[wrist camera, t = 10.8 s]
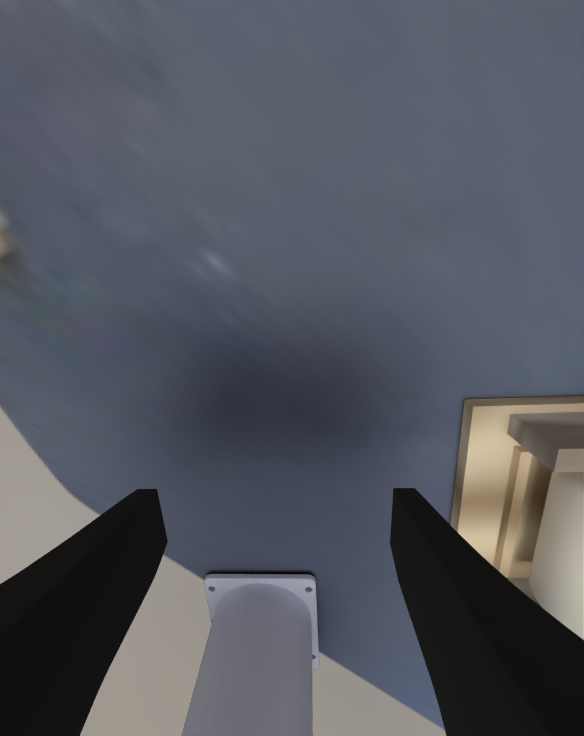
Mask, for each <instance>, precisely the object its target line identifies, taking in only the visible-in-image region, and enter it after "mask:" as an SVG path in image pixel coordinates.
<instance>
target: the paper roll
mask: <svg viewBox="0 0 584 736" xmlns="http://www.w3.org/2000/svg"><path fill="white" fill-rule="evenodd" d="M529 585H530V588H531V591H532V593H533V595H534V597H535V598H536V600H537V602H538V603H539V604H540V605H541V607H542V608H543V609H544V610H546V611H547V612H548V613H549V614H551V615H552V616H553V617H555V618H556V619H557V620H558V621H560V622H561V623H562V624H563V625H565V626H566V627H567V628H569V629H570V630H571V631H573V632H574V633H575V634H577V635H578V636H579V637H581V638H582V639H583V640H584V472H557V473H554V472H552V474H551V479H550V483H549V488H548V492H547V497H546V501H545V506H544V511H543V515H542V520H541V524H540V529H539V533H538V538H537V542H536V547H535V551H534V556H533V560H532V565H531V569H530V574H529Z"/></svg>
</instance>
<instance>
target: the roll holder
mask: <svg viewBox="0 0 584 736" xmlns="http://www.w3.org/2000/svg"><path fill="white" fill-rule="evenodd" d="M552 472H554V473H557V472H584V396H556V397H524V398H492V399H465V401H464V409H463V418H462V427H461V435H460V444H459V453H458V461H457V470H456V479H455V488H454V496H453V505H452V514H451V522H450V525H451V526H452V527H453V528H454V529H455V530H456V531H457V532H458V533H459V534H460V535H461V536H462V537H463V538H464V539H465V540H466V541H467V542H468V543H469V544H470V545H471V546H472V547H473V548H474V549H475V550H476V551H477V552H478V553H479V554H480V555H482V556H483V557H484V558H485V559H486V560H487V561H488V562H489V563H490V564H491V565H492V566H494V567H495V568H496V569H497V570H498V571H499V572H500V573H501V574H503V575H504V576H505V577H506V578H507V579H508V580H509V581H510V582H512V583H513V584H514V585H515V586H516V587H517V588H519V589H520V590H521V591H522V592H523V593H525V594H526V595H527V596H528V597H529V598H531V599H532V600H533V601H534V602H536V603H537V604H538V605H539V606H541V605H540V604H539V603H538V602H537V600H536V598H535V597H534V595H533V593H532V591H531V588H530V585H529V574H530V569H531V565H532V560H533V556H534V551H535V547H536V542H537V538H538V533H539V529H540V524H541V520H542V515H543V511H544V506H545V501H546V497H547V492H548V488H549V483H550V479H551V474H552Z"/></svg>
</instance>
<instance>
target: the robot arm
mask: <svg viewBox="0 0 584 736" xmlns="http://www.w3.org/2000/svg"><path fill="white" fill-rule="evenodd" d="M167 542H168V541H167V536H166V531H165V526H164V521H163V517H162V512H161V507H160V502H159V497H158V492H157V489H137V490H136V491H134V492H133V493H131V494H130V495H128V496H127V497H125V498H124V499H123V500H121V501H120V502H118V503H117V504H116V505H114V506H113V507H111V508H110V509H109V510H107V511H106V512H105V513H103V514H102V515H100V516H99V517H98V518H96V519H95V520H94V521H92V522H91V523H90V524H88V525H87V526H86V527H84V528H83V529H81V530H80V531H79V532H77V533H76V534H74V535H73V536H72V537H70V538H69V539H67V540H66V541H64V542H63V543H62V544H60V545H59V546H57V547H56V548H54V549H53V550H51V551H50V552H48V553H47V554H46V555H44V556H42V557H41V558H40V559H38V560H37V561H35V562H34V563H32V564H31V565H29V566H28V567H26V568H25V569H23V570H22V571H20V572H19V573H17V574H16V575H14V576H13V577H11V578H10V579H8V580H6V581H5V582H3V583H1V584H0V736H80V733H81V731H82V729H83V726H84V724H85V721H86V719H87V717H88V714H89V712H90V709H91V707H92V705H93V702H94V700H95V697H96V695H97V693H98V690H99V688H100V686H101V684H102V682H103V680H104V677H105V675H106V673H107V671H108V669H109V667H110V665H111V663H112V661H113V659H114V657H115V655H116V653H117V651H118V649H119V647H120V645H121V643H122V641H123V639H124V637H125V635H126V633H127V631H128V629H129V627H130V625H131V623H132V621H133V619H134V617H135V616H136V613H137V612H138V609H139V608H140V606H141V604H142V602H143V599H144V598H145V595H146V594H147V592H148V589H149V587H150V585H151V583H152V581H153V579H154V577H155V575H156V572H157V569H158V567H159V564H160V562H161V559H162V556H163V553H164V550H165V548H166V545H167ZM390 545H391V549H392V554H393V559H394V563H395V568H396V572H397V576H398V581H399V584H400V587H401V590H402V593H403V596H404V599H405V602H406V605H407V608H408V611H409V614H410V617H411V620H412V623H413V626H414V629H415V632H416V635H417V638H418V641H419V644H420V647H421V650H422V653H423V656H424V659H425V662H426V665H427V668H428V671H429V674H430V677H431V681H432V684H433V687H434V691H435V694H436V697H437V701H438V704H439V708H440V712H441V716H442V720H443V724H444V728H445V732H446V735H447V736H584V640H583V639H582V638H581V637H579V636H578V635H577V634H575V633H574V632H573V631H571V630H570V629H569V628H567V627H566V626H565V625H563V624H562V623H561V622H560V621H558V620H557V619H556V618H555V617H553V616H552V615H551V614H549V613H548V612H547V611H546V610H544V609H543V608H542V607H541V606H539V605H538V604H537V603H536V602H534V601H533V600H532V599H531V598H529V597H528V596H527V595H526V594H525V593H523V592H522V591H521V590H520V589H519V588H517V587H516V586H515V585H514V584H513V583H512V582H510V581H509V580H508V579H507V578H506V577H505V576H504V575H503V574H501V573H500V572H499V571H498V570H497V569H496V568H495V567H494V566H492V565H491V564H490V563H489V562H488V561H487V560H486V559H485V558H484V557H483V556H482V555H480V554H479V553H478V552H477V551H476V550H475V549H474V548H473V547H472V546H471V545H470V544H469V543H468V542H467V541H466V540H465V539H464V538H463V537H462V536H461V535H460V534H459V533H458V532H457V531H456V530H455V529H454V528H453V527H452V526H451V525H450V524H449V523H448V522H447V521H446V520H445V519H444V518H443V517H442V516H441V515H440V514H439V513H438V512H437V511H436V510H435V509H434V508H433V507H432V506H431V505H430V504H429V502H428V501H427V500H426V499H425V498H424V497H423V496H422V495H421V494H420V493H419V492H418V491H417V490H416V489H415V488H394V489H393V505H392V521H391V537H390ZM204 584H205V590H206V596H207V601H208V606H209V612H210V617H211V622H212V626H211V629H210V633H209V637H208V640H207V644H206V647H205V651H204V655H203V659H202V663H201V666H200V669H199V673H198V677H197V680H196V685H195V688H194V691H193V696H192V699H191V702H190V707H189V710H188V713H187V717H186V721H185V724H184V728H183V732H182V735H181V736H312V735H313V733H312V732H313V731H312V670H314V669H317V668H318V667H319V645H318V624H317V602H316V581H315V577H314V576H312V575H309V574H209V575H207V576H206V578H205V581H204Z"/></svg>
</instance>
